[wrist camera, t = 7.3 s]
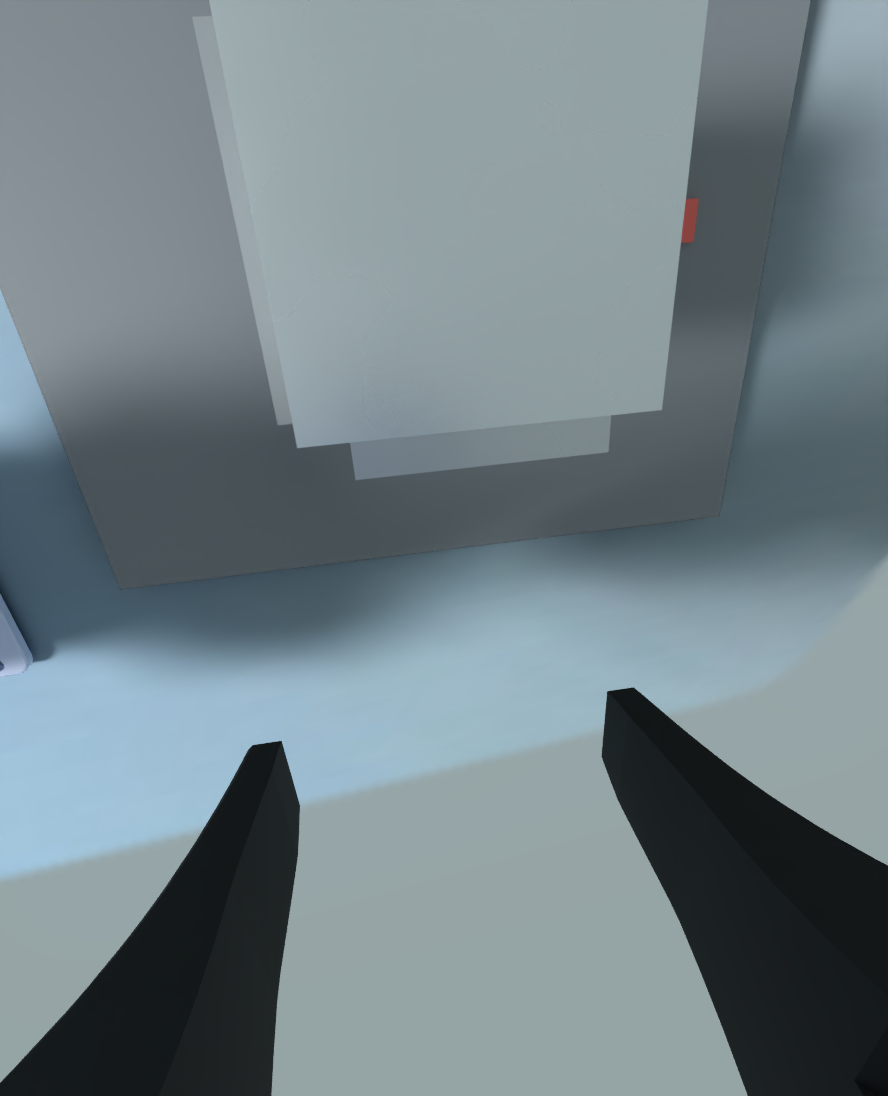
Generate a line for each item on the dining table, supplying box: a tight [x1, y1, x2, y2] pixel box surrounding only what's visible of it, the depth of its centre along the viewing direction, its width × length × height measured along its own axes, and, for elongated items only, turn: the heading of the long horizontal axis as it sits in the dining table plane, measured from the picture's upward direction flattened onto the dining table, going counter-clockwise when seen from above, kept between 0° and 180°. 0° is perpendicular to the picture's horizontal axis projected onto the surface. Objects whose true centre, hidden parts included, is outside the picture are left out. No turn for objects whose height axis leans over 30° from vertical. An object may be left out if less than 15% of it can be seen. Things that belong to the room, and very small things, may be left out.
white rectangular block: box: [209, 0, 708, 480], centre depth 9 cm, size 5×5×7 cm
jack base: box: [0, 0, 811, 590], centre depth 13 cm, size 20×18×4 cm
